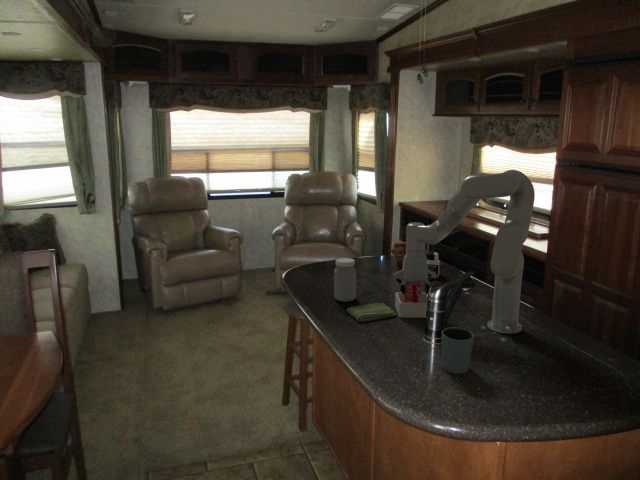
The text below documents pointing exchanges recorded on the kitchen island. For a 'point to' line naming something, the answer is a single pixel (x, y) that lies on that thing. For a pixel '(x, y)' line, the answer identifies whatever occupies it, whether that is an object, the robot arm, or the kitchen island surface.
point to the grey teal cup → (456, 349)
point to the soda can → (413, 292)
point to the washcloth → (371, 312)
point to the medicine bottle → (433, 263)
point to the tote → (410, 306)
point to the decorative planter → (400, 251)
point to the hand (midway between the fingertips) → (414, 293)
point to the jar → (345, 280)
